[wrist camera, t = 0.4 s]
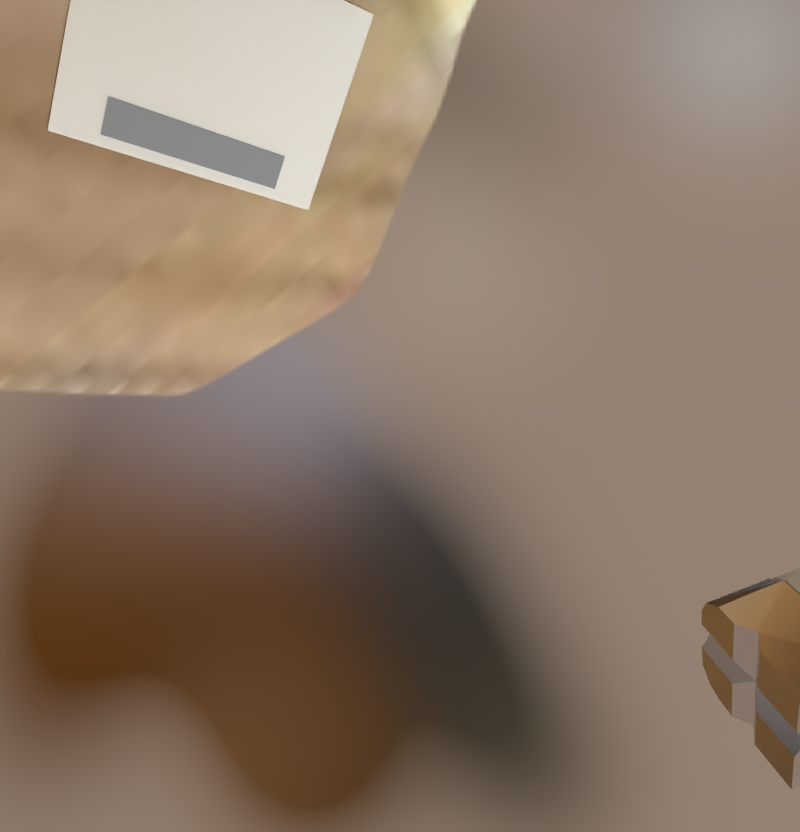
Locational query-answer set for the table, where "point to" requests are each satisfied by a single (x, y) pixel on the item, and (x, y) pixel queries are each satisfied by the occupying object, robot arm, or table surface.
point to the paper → (212, 85)
